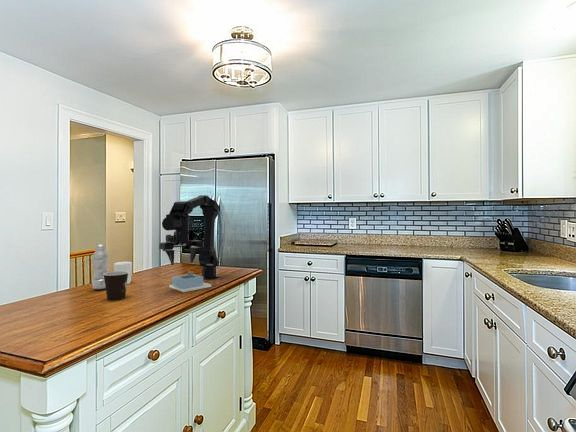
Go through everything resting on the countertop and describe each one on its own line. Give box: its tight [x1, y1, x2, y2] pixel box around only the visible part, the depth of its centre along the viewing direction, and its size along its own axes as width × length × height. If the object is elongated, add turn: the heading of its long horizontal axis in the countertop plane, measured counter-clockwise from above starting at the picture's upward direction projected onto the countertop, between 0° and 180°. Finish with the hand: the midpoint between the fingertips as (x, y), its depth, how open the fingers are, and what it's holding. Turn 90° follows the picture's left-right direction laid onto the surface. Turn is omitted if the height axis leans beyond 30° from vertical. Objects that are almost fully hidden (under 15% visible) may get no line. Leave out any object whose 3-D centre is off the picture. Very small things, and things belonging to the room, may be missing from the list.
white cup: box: [113, 261, 133, 285], centre depth 152 cm, size 8×8×10 cm
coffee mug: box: [104, 271, 128, 301], centre depth 128 cm, size 12×9×10 cm
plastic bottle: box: [91, 243, 110, 291], centre depth 141 cm, size 6×7×20 cm
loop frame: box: [171, 273, 204, 289], centre depth 144 cm, size 10×10×4 cm
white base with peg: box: [169, 270, 212, 293], centre depth 145 cm, size 14×13×7 cm
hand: (182, 263), depth 142 cm, fingers open, 9 cm apart
